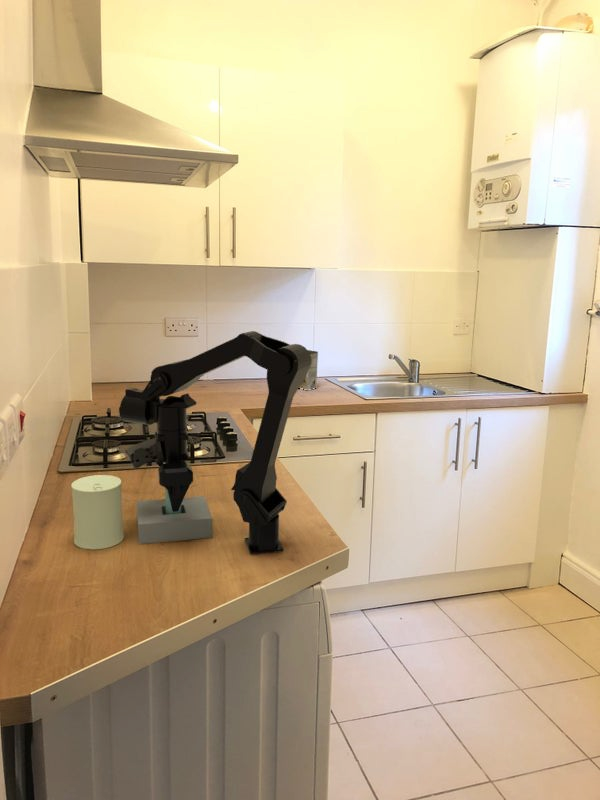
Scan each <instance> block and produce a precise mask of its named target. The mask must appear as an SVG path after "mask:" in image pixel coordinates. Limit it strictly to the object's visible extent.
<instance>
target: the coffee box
mask: <svg viewBox="0 0 600 800" xmlns="http://www.w3.org/2000/svg"><path fill="white" fill-rule="evenodd" d="M307 350H308V352H309V354H310V355H311V359H312V361H311V366H310V368H309V370H308V372H307V375H306V377H305V379H304V381H303V382H302V384H301V385H300V387H299V388H303V389H307V390H308V389H313V388H316V389H317V385H318V384H317V383H318V381H317V379H318V378H317V377H318V361H319V360H318V359H319V358H318V357H319V355H318V354H319V351H316V350H311V349H307Z"/></svg>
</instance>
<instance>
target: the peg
mask: <svg viewBox="0 0 600 800" xmlns="http://www.w3.org/2000/svg"><path fill="white" fill-rule="evenodd" d="M164 489H165V490H164V491H165V493H164V494H165V497H164V499H166V515H167V514H180V513H181V506H180V508H179V510H178V511H176V512H173V511H172V507H171V503H170V498H169V494H168V490H167V489H166V488H165V487H164Z"/></svg>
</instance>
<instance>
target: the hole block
mask: <svg viewBox="0 0 600 800" xmlns="http://www.w3.org/2000/svg"><path fill="white" fill-rule="evenodd" d="M136 513H137V514H136V515H137V535H138V545H142V544H155V543H165V542H167V543H169V542H176V541H188V540H199V539H211V538H213V516H212V513H211V511H210V508H209V505H208V502H207V499H206V496H205V495H204V496H191V497H184V499H183V501H182V503H181V513H180V514H167V515H166V499H165V498H164V499H162V498H161V499H153V500H152V499H151V500H139V501H138V500H137V501H136Z"/></svg>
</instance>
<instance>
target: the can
mask: <svg viewBox="0 0 600 800" xmlns="http://www.w3.org/2000/svg"><path fill="white" fill-rule="evenodd" d="M70 487H71V494H72V495H71V496H72V509H73V510H72V512H73V528H74V530H73V531H74V532H73V533H74V539H73V542H74V544H75V546H76V547H78V548H80V549H83V550H103V549H108V548H111V547H114V546H117V545H118V544H119V543H122V541H123V540H124V537H125V534H124V526H123V503H122V480H121V479H120V478H119V477H118V476H114V475H110V474H109V475H108V474H97V475H95V474H94V475H88V476H83V477H80V478H77V479H76V480H74V481H73V482H72V483H71V485H70Z"/></svg>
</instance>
